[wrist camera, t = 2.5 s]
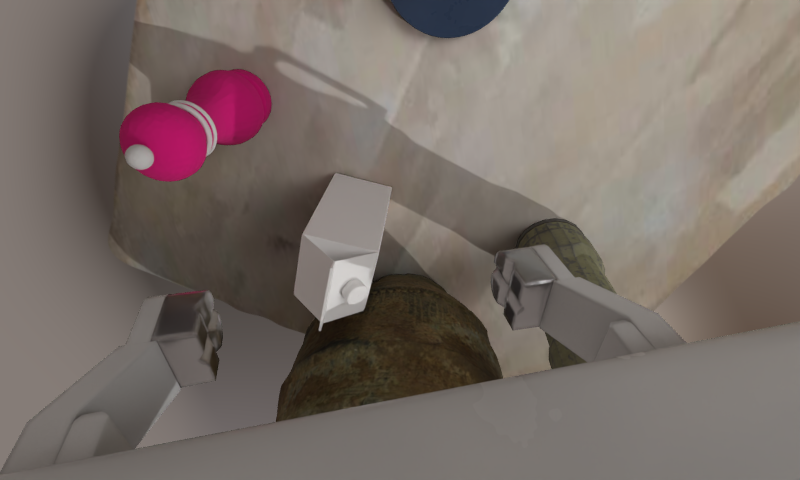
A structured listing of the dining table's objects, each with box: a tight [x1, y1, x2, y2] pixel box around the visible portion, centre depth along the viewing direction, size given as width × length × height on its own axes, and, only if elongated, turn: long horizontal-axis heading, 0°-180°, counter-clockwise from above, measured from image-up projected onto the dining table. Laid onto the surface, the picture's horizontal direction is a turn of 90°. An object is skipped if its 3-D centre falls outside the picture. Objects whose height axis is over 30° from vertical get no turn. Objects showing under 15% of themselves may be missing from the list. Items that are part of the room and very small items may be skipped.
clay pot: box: [276, 274, 503, 422], centre depth 49 cm, size 25×25×25 cm
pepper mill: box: [119, 69, 271, 181], centre depth 37 cm, size 7×7×20 cm
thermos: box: [516, 219, 616, 369], centre depth 38 cm, size 9×12×35 cm
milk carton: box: [294, 173, 392, 331], centre depth 43 cm, size 7×7×19 cm
